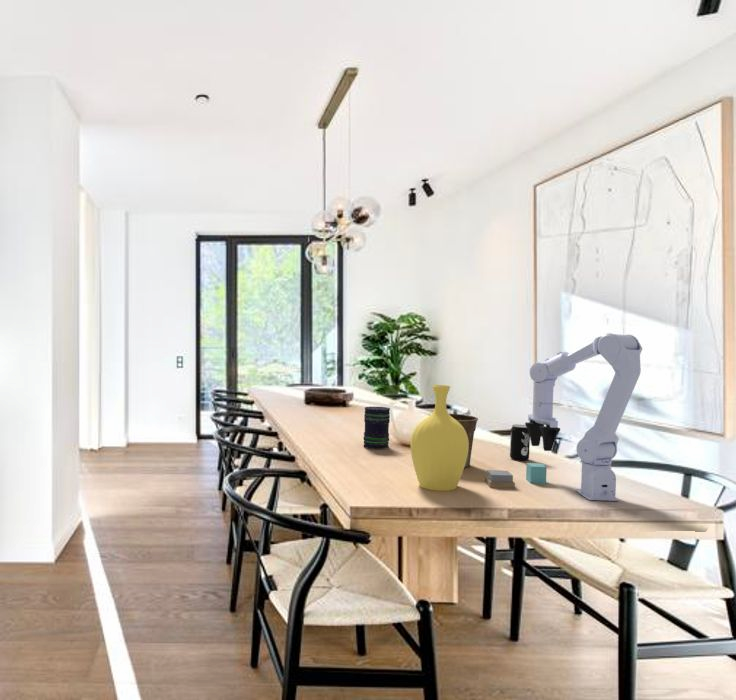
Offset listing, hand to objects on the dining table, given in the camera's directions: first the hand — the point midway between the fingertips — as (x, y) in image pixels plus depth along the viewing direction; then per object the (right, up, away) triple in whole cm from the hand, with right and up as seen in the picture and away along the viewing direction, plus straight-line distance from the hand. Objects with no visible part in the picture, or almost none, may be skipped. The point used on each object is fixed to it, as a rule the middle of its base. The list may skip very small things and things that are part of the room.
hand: (541, 448), depth 158 cm
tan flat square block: (-15, -10, -7) cm, 19 cm away
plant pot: (-24, -9, +17) cm, 31 cm away
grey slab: (-14, -8, -7) cm, 18 cm away
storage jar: (-49, -8, +44) cm, 66 cm away
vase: (-33, -9, -11) cm, 35 cm away
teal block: (-2, -10, -3) cm, 10 cm away
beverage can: (+2, -10, +29) cm, 31 cm away
